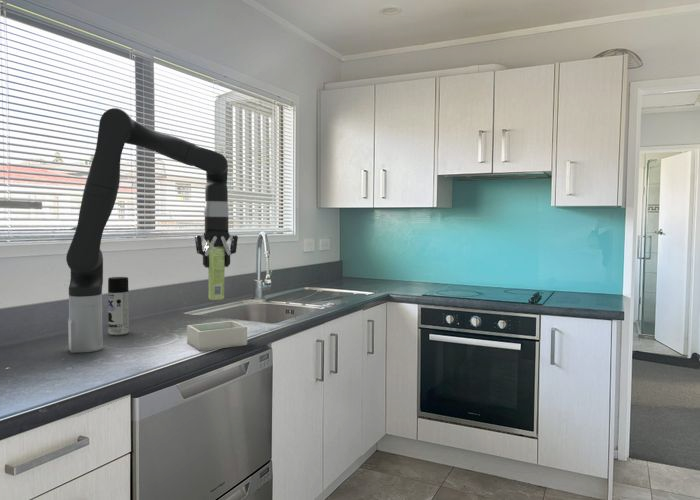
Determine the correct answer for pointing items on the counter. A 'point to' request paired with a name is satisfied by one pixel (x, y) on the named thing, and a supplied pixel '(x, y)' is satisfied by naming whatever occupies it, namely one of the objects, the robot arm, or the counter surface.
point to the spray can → (118, 306)
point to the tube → (216, 272)
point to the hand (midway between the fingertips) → (216, 266)
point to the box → (216, 335)
